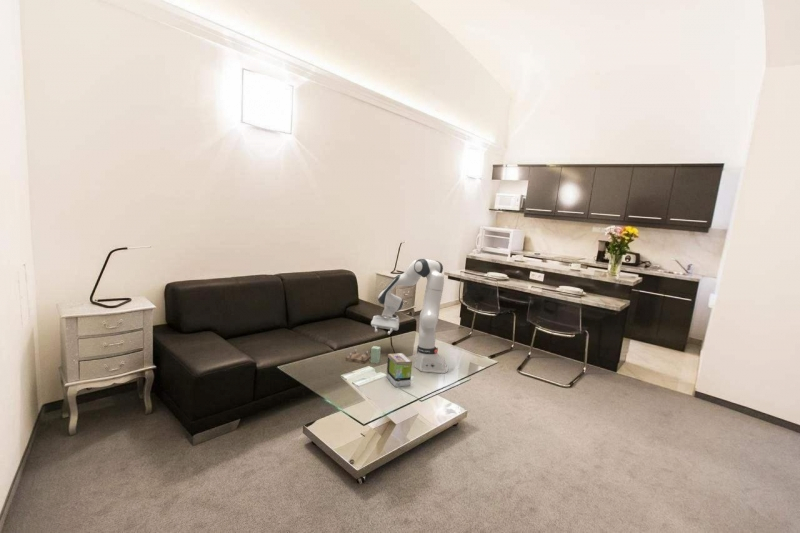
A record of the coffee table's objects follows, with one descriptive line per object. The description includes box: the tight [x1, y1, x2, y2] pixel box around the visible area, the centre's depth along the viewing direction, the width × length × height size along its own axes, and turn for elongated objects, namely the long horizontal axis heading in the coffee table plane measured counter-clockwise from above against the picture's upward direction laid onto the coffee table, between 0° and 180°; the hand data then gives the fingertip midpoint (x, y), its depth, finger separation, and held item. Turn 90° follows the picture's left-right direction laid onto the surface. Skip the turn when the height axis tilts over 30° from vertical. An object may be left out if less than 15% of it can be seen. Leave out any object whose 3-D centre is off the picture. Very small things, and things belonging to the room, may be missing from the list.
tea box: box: [386, 352, 413, 388], centre depth 214 cm, size 15×10×15 cm, turn 22°
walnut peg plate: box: [344, 348, 371, 364], centre depth 247 cm, size 14×12×5 cm
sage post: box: [369, 345, 381, 365], centre depth 244 cm, size 5×5×10 cm
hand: (382, 333), depth 254 cm, fingers open, 8 cm apart
